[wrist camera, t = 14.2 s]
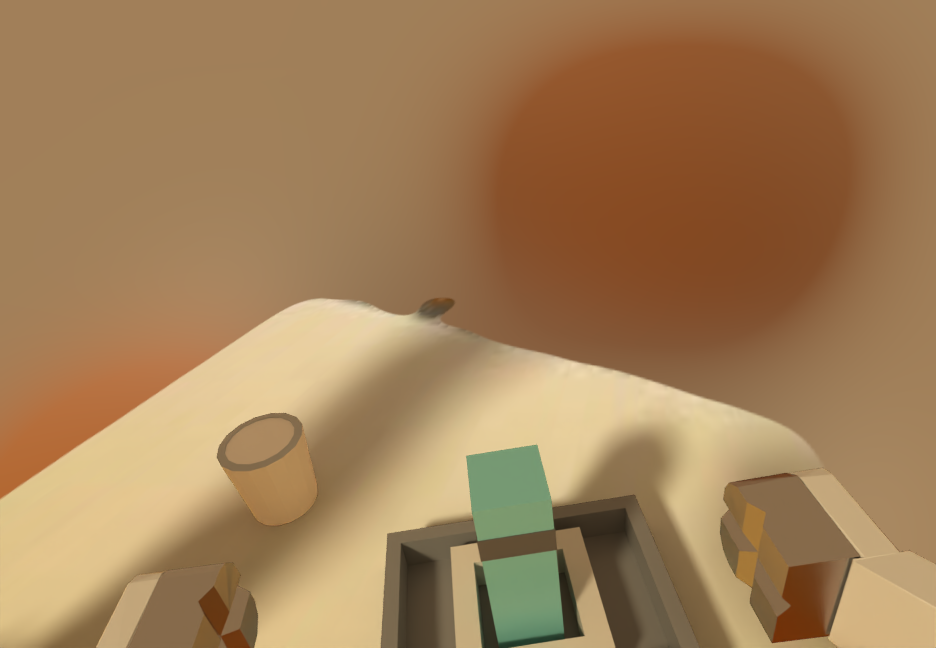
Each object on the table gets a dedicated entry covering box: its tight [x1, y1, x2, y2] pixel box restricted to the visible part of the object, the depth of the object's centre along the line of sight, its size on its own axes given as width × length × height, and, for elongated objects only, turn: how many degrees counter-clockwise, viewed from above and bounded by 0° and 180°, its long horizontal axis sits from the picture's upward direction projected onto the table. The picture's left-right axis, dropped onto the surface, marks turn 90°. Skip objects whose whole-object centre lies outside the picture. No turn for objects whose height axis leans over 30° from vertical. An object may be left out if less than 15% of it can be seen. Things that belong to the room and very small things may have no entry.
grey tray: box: [381, 495, 700, 648], centre depth 36 cm, size 18×13×3 cm
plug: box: [466, 445, 565, 648], centre depth 34 cm, size 4×4×13 cm
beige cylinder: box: [217, 413, 318, 526], centre depth 48 cm, size 7×7×7 cm
